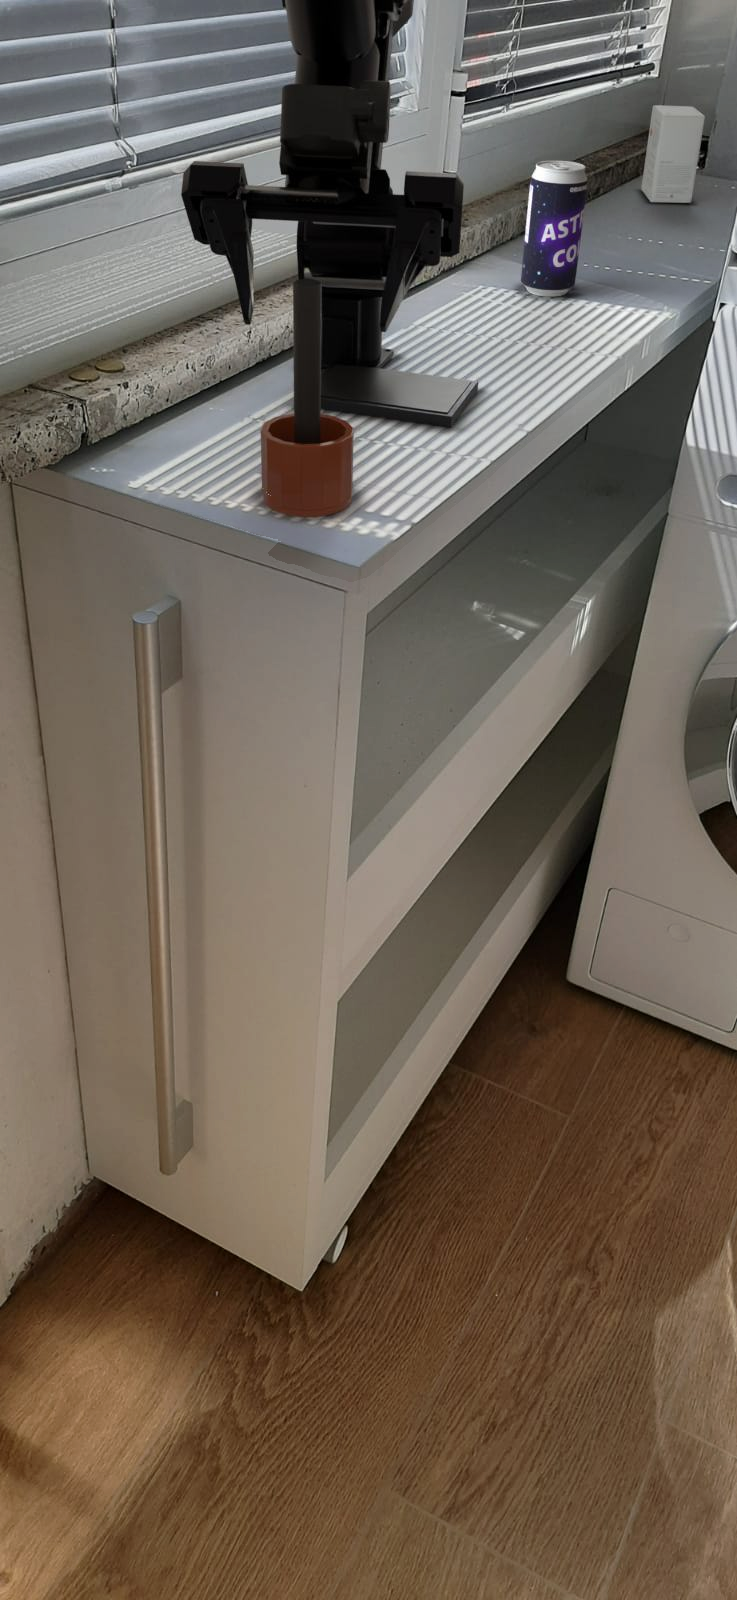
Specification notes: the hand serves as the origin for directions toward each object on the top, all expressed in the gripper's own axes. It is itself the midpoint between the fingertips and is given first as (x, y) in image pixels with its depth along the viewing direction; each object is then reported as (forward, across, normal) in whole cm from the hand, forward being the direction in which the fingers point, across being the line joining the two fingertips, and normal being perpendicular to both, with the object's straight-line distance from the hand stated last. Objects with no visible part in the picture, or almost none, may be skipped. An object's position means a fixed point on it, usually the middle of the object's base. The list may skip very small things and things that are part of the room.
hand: (314, 325), depth 85 cm
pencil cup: (+10, 0, +5) cm, 11 cm away
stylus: (+10, 0, +5) cm, 11 cm away
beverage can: (-30, +18, +45) cm, 57 cm away
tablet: (-5, +4, +20) cm, 21 cm away
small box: (-65, +36, +80) cm, 109 cm away
